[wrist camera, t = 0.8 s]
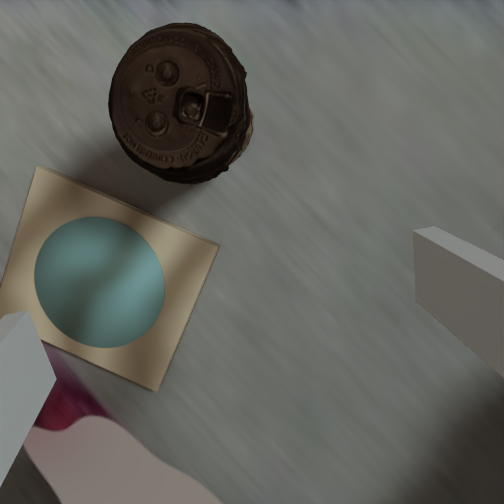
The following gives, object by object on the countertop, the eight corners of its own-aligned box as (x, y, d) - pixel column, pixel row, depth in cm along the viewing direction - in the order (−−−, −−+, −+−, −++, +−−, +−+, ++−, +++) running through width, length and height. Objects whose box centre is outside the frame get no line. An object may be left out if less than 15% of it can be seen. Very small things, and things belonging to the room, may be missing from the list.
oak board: (220, 245, 36) (217, 248, 35) (161, 385, 39) (156, 393, 38) (45, 166, 36) (35, 166, 35) (0, 312, 40) (-10, 317, 38)
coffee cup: (289, 141, 34) (284, 123, 21) (209, 200, 35) (161, 217, 23) (226, 50, 33) (181, -26, 20) (147, 115, 35) (61, 83, 22)
